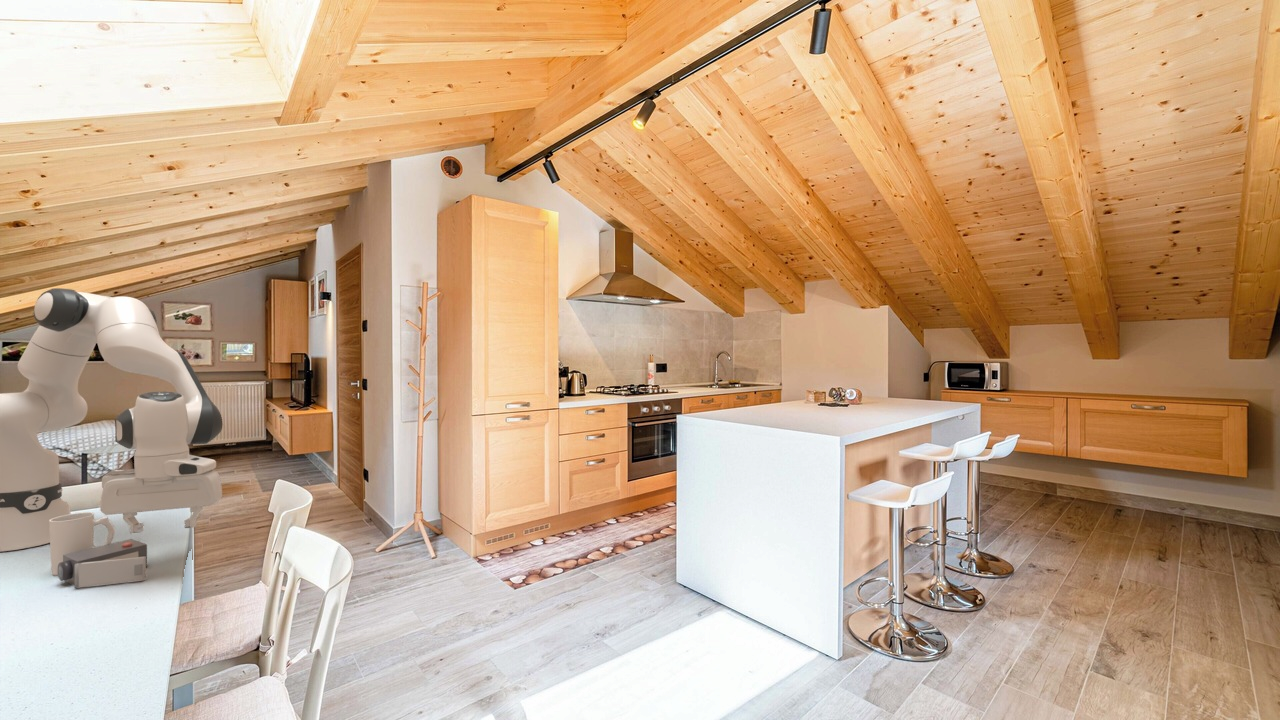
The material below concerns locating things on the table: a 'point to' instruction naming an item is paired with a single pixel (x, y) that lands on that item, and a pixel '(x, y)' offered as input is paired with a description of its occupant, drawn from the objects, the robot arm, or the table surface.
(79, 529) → the mug
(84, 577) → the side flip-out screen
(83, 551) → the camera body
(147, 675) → the table surface
